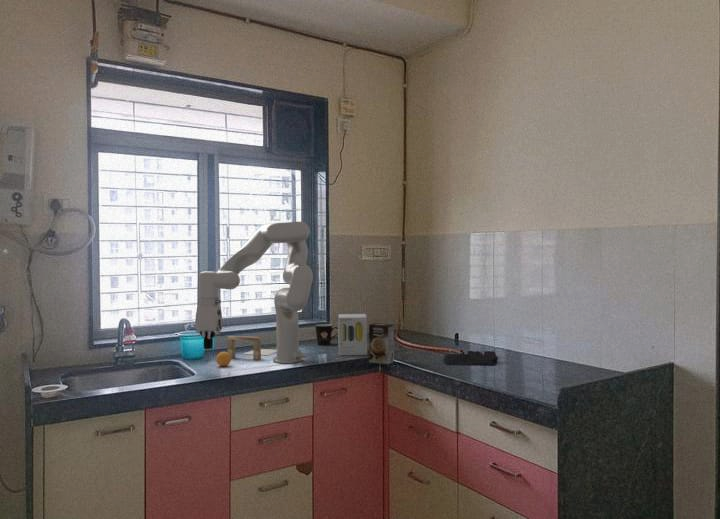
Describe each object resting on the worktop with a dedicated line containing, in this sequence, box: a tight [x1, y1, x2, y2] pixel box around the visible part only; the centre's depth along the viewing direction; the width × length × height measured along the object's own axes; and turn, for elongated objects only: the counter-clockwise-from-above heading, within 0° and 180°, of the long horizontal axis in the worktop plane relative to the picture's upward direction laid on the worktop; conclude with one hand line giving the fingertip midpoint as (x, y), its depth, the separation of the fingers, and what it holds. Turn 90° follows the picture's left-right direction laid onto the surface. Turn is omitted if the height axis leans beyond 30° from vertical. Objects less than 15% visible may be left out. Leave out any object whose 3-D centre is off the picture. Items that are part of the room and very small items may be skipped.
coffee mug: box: [314, 323, 338, 347], centre depth 265 cm, size 12×9×10 cm
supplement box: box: [337, 313, 368, 356], centre depth 242 cm, size 13×13×18 cm
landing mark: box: [242, 348, 277, 356], centre depth 246 cm, size 13×13×1 cm
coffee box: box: [368, 322, 395, 365], centre depth 220 cm, size 9×6×16 cm
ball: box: [215, 351, 232, 367], centre depth 216 cm, size 6×6×6 cm
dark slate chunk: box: [443, 350, 499, 367], centre depth 218 cm, size 15×22×5 cm
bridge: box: [226, 335, 262, 361], centre depth 231 cm, size 3×15×10 cm, turn 71°
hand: (208, 348), depth 206 cm, fingers closed
